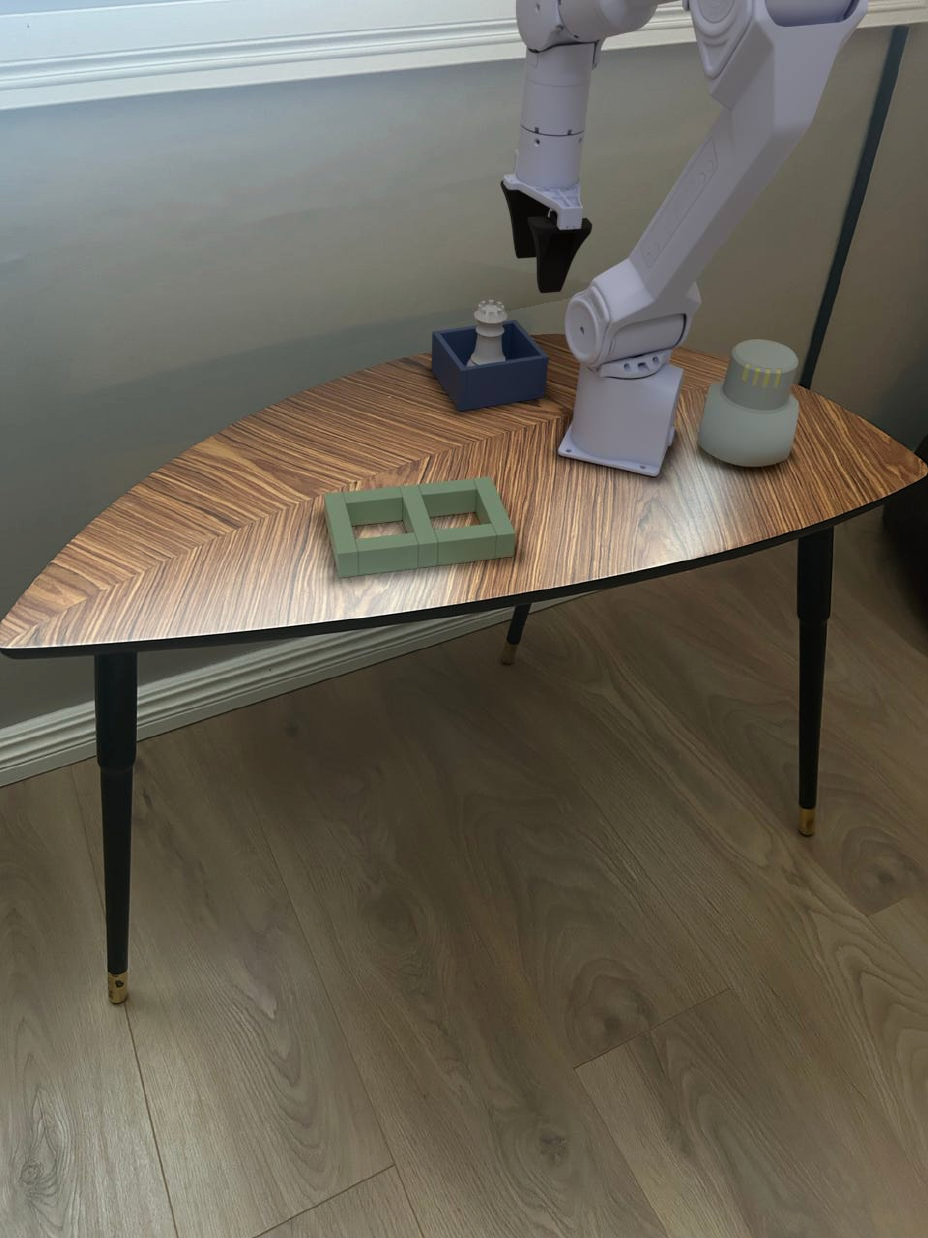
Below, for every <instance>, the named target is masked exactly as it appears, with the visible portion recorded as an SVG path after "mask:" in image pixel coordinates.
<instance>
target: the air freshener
mask: <svg viewBox="0 0 928 1238" xmlns="http://www.w3.org/2000/svg"><path fill="white" fill-rule="evenodd" d="M799 361H800V360H799V358H798V356H797V355H796V353H795V351H794V350H792V349H791V348H789V347H788V346H786V345H785V344H782V343H781V342H777V341H773V340H768V339H761V338H760V339H759V338H756V339H755V338H754V339H746V340H743V341H741V342H739V343H738V344H736V345H734V346H733V348H732V350H731V353H730V357H729V361H728V365H727V369H726V373H725V376H724V379H723V380H719V381H717V382H714V383H712V384H710V385H708V390H707V393H706V396H705V397H706V398H705V402H704V406H703V411H702V415H701V420H700V424H699V428H698V433H697V437H696V443H697V444H698V445H699V446H700V448H702V449H703V450H704V451H705V452H706V453H708V454H709V455H710V456H712V457H714V458H716V459H718V460H720V461H722V462H724V463H727V464H731V465H734V466H739V467H748V468H759V467H767V466H771V465H776V464H778V463H781V462H784V461H786V460H787V459H788V458H789V456H790V454H791V450H792V447H793V445H794V440H795V435H796V431H797V426H798V420H799V411H800V402H799V400H798V399H796V398H795V396H794V395H793V394H791V391H792V387H793V385H794V384H793V383H794V381H795V378H796V377H795V376H796V373H797V369H798V368H799V367H798V366H799V364H800V363H799Z"/></svg>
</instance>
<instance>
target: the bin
mask: <svg viewBox="0 0 928 1238" xmlns="http://www.w3.org/2000/svg"><path fill="white" fill-rule="evenodd" d="M477 326H478V324H477V325H470V326H462V327H455V328H448V329H441V330H434V331H431V333H432V334H431V343H432V344H431V373H432V374H433V376H434V377H435V379H436V380H437V381H438V383H439V384H440V386H441V388H442V389H443V390H444V391H445V393H446V394H447V396H448V397H449V399H450V400H451V402H452V403H453V404H454V406H455V407H456V409H457V410H458V411H459V412H466V411H472V410H479V409H484V408H489V407H496V406H502V405H508V404H514V403H519V402H520V403H521V402H526V401H531V400H536V399H544V398H545V396H546V388H547V378H548V369H549V359H550V356H548V354H547V353H546V352H545V350H543V348H541V346H540V345H539V344H538V343H537V342H536V340H535V339H534V338H533V337H532V336H531V335H530V333H528V332H527V331H526V329H525V328H524V327H523V326H522V324H521V323H520V322H519V321H518V320H517V319H511V320H505V321H504V322H503V324H502V327H503V328H504V332H503V334H502V339H501V342H502V352H503V355H504V356H505V361H501V362H494V363H488V364H481V365H475V366H468V367H467V362H468V361H469V360H470V358H471V355H472V354H473V353H474V351H475V347H476V342H477V334H478V333H477V331H476V327H477Z"/></svg>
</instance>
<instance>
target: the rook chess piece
mask: <svg viewBox="0 0 928 1238" xmlns="http://www.w3.org/2000/svg"><path fill="white" fill-rule="evenodd" d="M494 301H495V300H494V299H488V304H486V303H487V302H486V301H485V300H483V301H480V303H478V305H477V306H478V307H477V310H475V312H474V313H473V315H474V316H473V317H474V318H475V320H476V321H477V323H478V324H477V325H478V326H477V327H476V331H477V333H478V334H477V342H476V347H475V351H474V353H473V354H472V355H471V358H470V360H469V361H468V362H467V367H468V366H475V365H481V364H488V363H494V362H501V361H505V356H504V355H503V352H502V342H501V339H502V334H503V332H504V328H503V327H502V324H503V322H504V321H507V319H508V313H507V312H506V311H505V305H503V302H501V301H496V304H494Z"/></svg>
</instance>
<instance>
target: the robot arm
mask: <svg viewBox="0 0 928 1238" xmlns="http://www.w3.org/2000/svg"><path fill="white" fill-rule="evenodd" d="M679 1H681V5H682V9H683V10H684V12H690V17H691V22H692V25H693V30H694V36H695V41H696V45H697V50H698V53H699V57H700V63H701V67H702V71H703V75H704V80H705V84H706V89H707V93H708V96H710V97H711V98H713V99H714V100H715V101H717V102H718V103H719V104H720V105H722V108H721V110H720V112H719V113H718V114H717V116H716V117H715V119H714V121H713V122H712V124H711V126H710V128H709V129H708V131H707V132H706V134H705V135H704V136H703V138H702V140H701V141H700V143H699V144H698V146H697V147H696V149H695V151H694V152H693V154H692V156H691V157H690V159H689V160H688V162H687V164H686V165H685V167H684V168H683V170H682V172H681V173H680V175H679V177H678V178H677V179H676V181H675V182H674V184H673V186H672V187H671V189H670V191H669V192H668V194H667V195H666V196H665V198H664V200H663V202H662V204H661V205H660V206H659V208H658V210H657V211H656V213H655V214H654V216H653V218H652V219H651V221H650V223H649V224H648V226H647V227H646V229H645V230H644V231H643V233H642V235H641V237H640V238H639V240H638V241H637V243H636V244H635V246H634V248H633V249H632V251H631V253H630V254H629V256H628V257H627V258H625V259H624V260H622V261H620V262H619V263H617V264H616V265H613V266H612V267H610V268H609V269H607V270H605V271H603V272H602V273H600V274H599V275H597V276H595V277H594V278H593V279H592V281H591V282H590V283H589V285H588V286H587V287H586V288H585V289H584V290H582V291H578V292H576V293H575V294H573V296H572V297H571V298H570V300H569V301H568V304H567V308H566V311H565V315H564V333H565V334H564V335H565V340H566V342H567V345H568V349H569V350H570V352H571V354H572V355H573V356H574V358H575V359H576V360H577V361H578V362H579V370H578V377H577V385H576V392H575V399H574V407H573V415H572V421H571V423H570V424H569V427H568V428H567V431H566V432H565V435H564V436H563V439H562V440H561V442H560V445H559V447H558V448H557V454H558V455H559V456H561V457H566V458H570V459H575V460H579V461H584V462H587V463H592V464H597V465H601V466H605V467H609V468H613V469H614V468H615V469H618V470H622V471H628V472H631V473H635V474H636V473H637V474H641V475H645V476H650V477H657V476H658V475H659V474H660V471H661V469H662V465H663V462H664V460H665V456H666V453H667V451H668V447H670V446H672V444H673V440H674V436H675V434H676V433H675V432H676V426H675V421H676V416H677V412H678V408H679V402H680V397H681V395H682V394H681V393H682V388H683V384H684V379H685V371H686V370H685V369H684V368H682V367H679V366H677V365H674V364H672V363H670V362H671V357H672V352H673V350H674V349H677V348H680V347H681V346H682V345H683V344H684V343H685V341H686V340H687V338H688V336H689V334H690V331H691V326H692V323H693V322H692V321H693V319H694V317H695V314H696V313H697V312H698V310H699V309H700V307H701V306H702V304H703V301H702V298H701V293H700V290H699V287H698V284H697V282H696V281H697V280H698V279H699V277H700V275H701V274H702V273H703V271H704V270H705V269H706V268H707V266H708V265H709V263H710V262H711V261H712V260H713V258H714V256H715V255H716V254H717V253H718V251H719V250H720V249H721V247H722V246H723V245H724V244H725V242H726V240H728V238H729V237H730V235H731V234H732V233H733V231H734V230H735V229H736V227H737V226H738V224H739V223H740V222H741V221H742V219H743V218H744V217H745V215H746V214H747V212H748V211H749V210H750V209H751V207H752V206H753V205H754V204H755V202H756V201H757V199H758V198H759V197H760V195H761V194H762V192H763V191H764V190H765V188H766V187H767V186H768V185H769V183H770V182H771V180H773V178H774V176H775V175H776V174H777V172H778V171H779V170H780V168H781V167H782V166H783V164H784V163H785V162H786V160H787V159H788V158H789V156H790V155H791V154H792V152H793V151H794V150H795V149H796V147H797V145H798V144H799V143H800V142H801V140H802V139H803V138H804V136H805V135H806V133H807V132H808V130H809V128H810V126H811V125H812V123H813V120H814V117H815V114H816V112H817V109H818V106H819V104H820V101H821V98H822V96H823V92H824V90H825V88H826V85H827V82H828V79H829V77H830V74H831V71H832V69H833V65H834V64H835V60H836V57H837V56H838V54H839V53H840V52H841V50H842V49H843V47H844V46H845V45H846V43H847V42H848V40H849V39H850V38H851V36H852V35H853V33H854V32H855V31H856V29H857V28H858V26H859V25H860V23H862V21H863V20H864V18H865V16H866V15H867V14H868V11H869V0H515V19H516V26H517V29H518V34H519V36H520V38H521V40H522V42H523V44H524V45H525V46H526V47H525V49H526V50H525V62H524V71H523V72H524V73H523V85H522V86H523V87H522V100H521V109H520V110H521V112H520V125H519V137H518V148H517V149H514V154H513V155H514V157H513V171H514V173H511V174H504V175H503V180H501V181H500V183H499V184H500V185H499V186H500V188H501V190H502V193H503V195H504V198H505V201H506V204H507V205H506V206H507V208H508V212H509V217H510V223H511V231H512V240H513V247H514V253H515V257H516V258H517V259H518V260H519V259H533V258H534V259H536V283H537V284H536V285H537V289H538V291H539V293H540V294H552V293H561V291H562V289H563V287H564V284H565V282H566V280H567V277H568V274H569V272H570V270H571V269H570V268H571V267H572V264H573V261H574V259H575V257H576V255H577V254H578V251H579V249H580V248H581V247H582V245H583V244H584V242H585V241H586V240H587V238H588V237H589V236H590V235H591V234H592V230H593V224H592V222H591V220H589V218H588V217H583V216H584V215H583V214H584V206H583V205H582V203H581V184H582V178H581V176H580V171H581V163H582V154H583V146H584V138H585V129H586V121H587V115H588V105H589V97H590V96H589V95H590V89H591V80H592V73H593V71H594V70H595V69H597V67H598V64H600V60H601V52H602V48H603V44H604V43H605V41H606V40H607V38H610V37H611V38H612V37H616V36H620V35H624V34H628V33H631V32H635V31H638V30H640V29H643V28H644V26H646V25H647V24H648V23H649V22H651V20H652V18H653V17H654V15H655V13H656V11H657V9H658V6H660V5H665V4H669V3H675V2H679Z"/></svg>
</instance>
